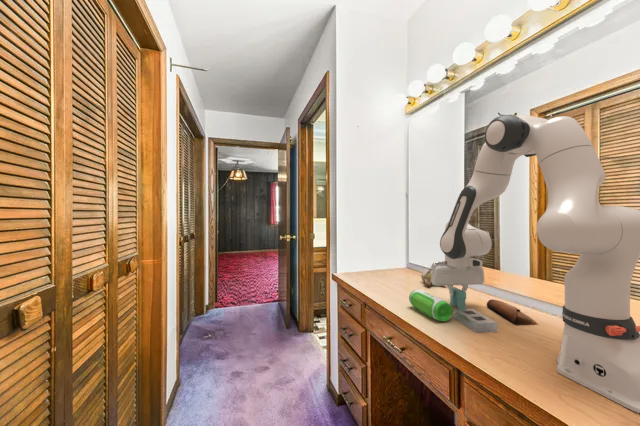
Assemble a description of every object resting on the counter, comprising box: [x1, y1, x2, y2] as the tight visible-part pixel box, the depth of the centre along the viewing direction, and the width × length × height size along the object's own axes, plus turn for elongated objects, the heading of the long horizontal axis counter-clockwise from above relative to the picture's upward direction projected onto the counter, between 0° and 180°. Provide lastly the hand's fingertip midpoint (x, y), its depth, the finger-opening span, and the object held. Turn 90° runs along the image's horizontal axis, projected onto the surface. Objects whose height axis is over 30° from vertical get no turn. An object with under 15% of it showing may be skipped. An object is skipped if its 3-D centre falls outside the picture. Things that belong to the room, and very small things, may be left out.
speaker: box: [408, 289, 453, 322], centre depth 106 cm, size 18×7×8 cm, turn 14°
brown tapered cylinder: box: [486, 299, 539, 326], centre depth 103 cm, size 18×7×7 cm
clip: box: [448, 286, 467, 309], centre depth 112 cm, size 8×2×7 cm, turn 3°
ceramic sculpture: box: [420, 267, 436, 287], centre depth 147 cm, size 11×9×15 cm
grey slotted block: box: [453, 308, 498, 334], centre depth 96 cm, size 13×7×3 cm, turn 3°
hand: (457, 295), depth 112 cm, fingers closed on clip, 2 cm apart
